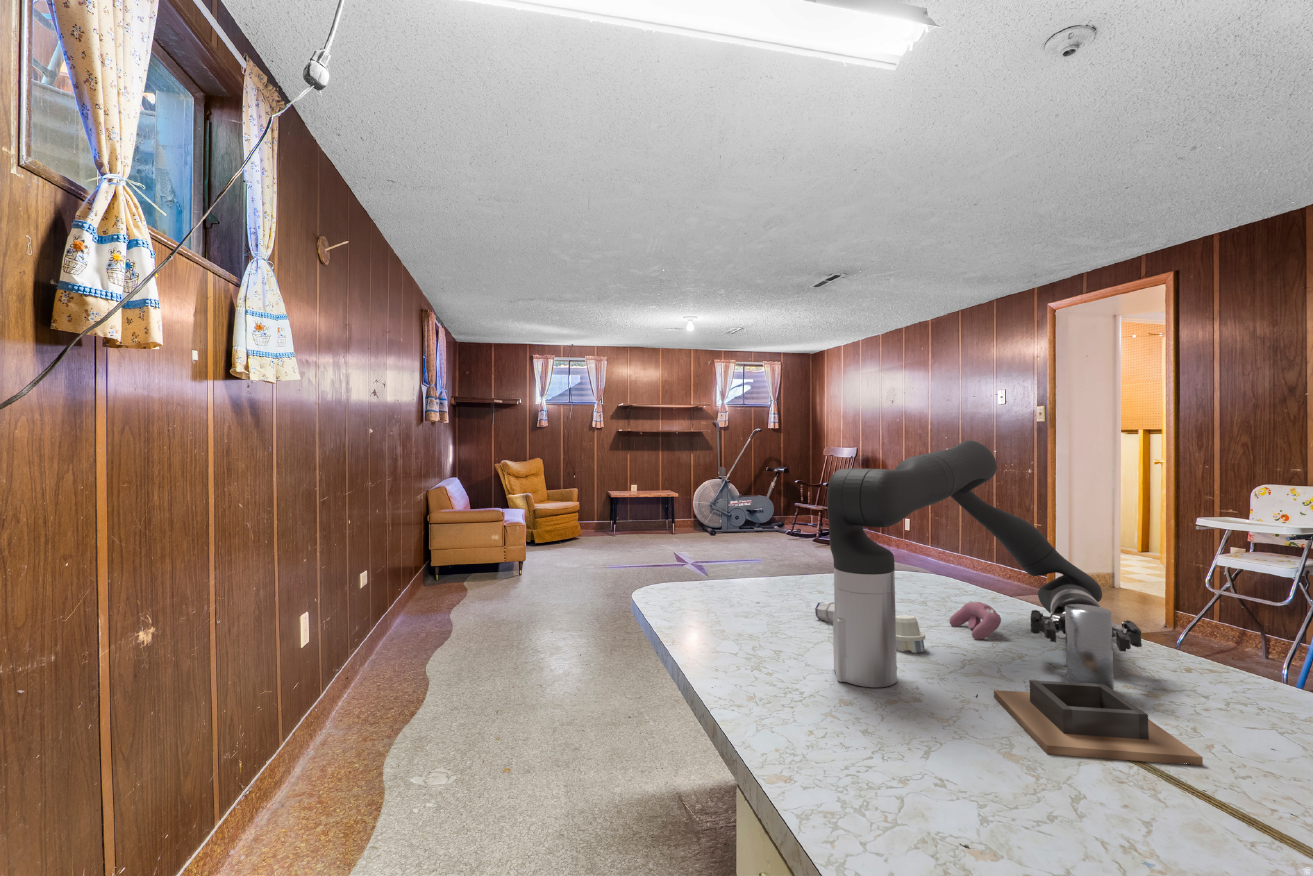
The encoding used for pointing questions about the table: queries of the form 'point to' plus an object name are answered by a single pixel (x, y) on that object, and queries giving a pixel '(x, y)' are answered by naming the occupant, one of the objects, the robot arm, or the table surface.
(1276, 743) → the table surface
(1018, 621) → the table surface
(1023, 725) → the wooden board with frame
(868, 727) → the table surface
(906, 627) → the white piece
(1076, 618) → the grey metal cylinder
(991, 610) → the video game controller
